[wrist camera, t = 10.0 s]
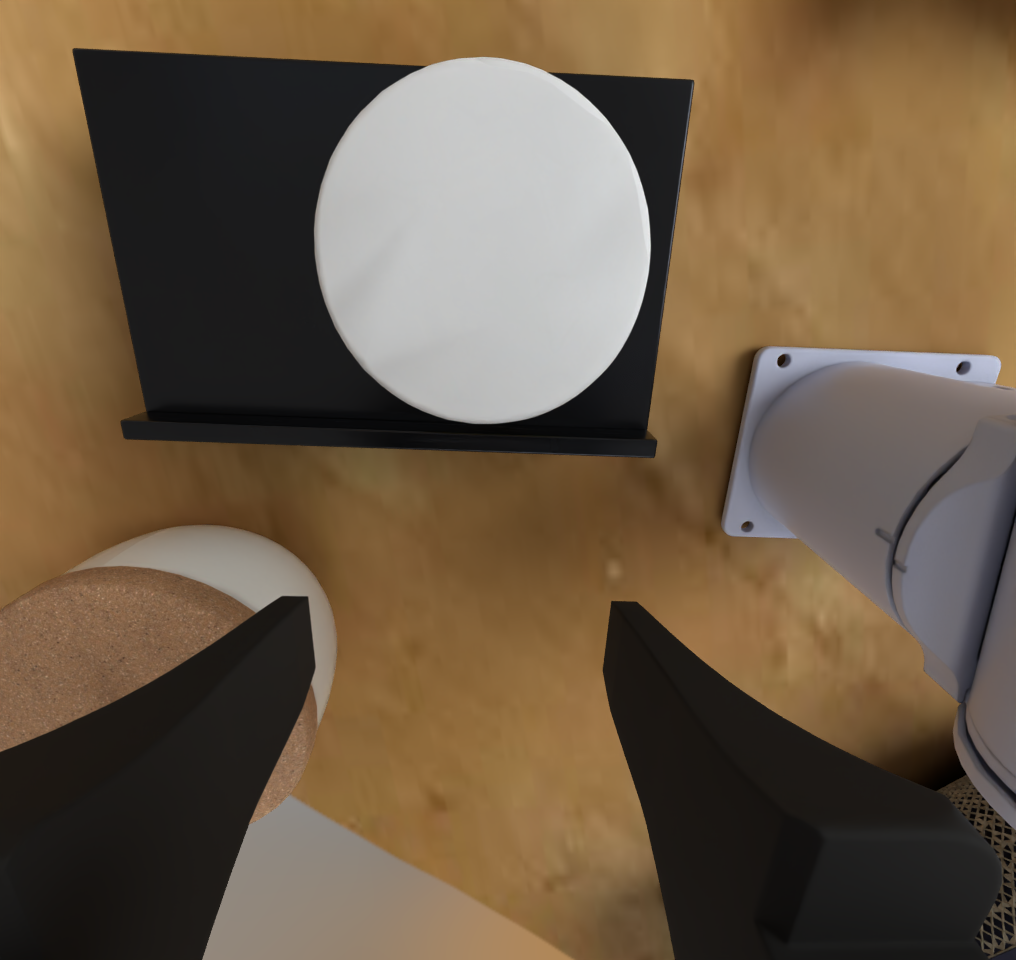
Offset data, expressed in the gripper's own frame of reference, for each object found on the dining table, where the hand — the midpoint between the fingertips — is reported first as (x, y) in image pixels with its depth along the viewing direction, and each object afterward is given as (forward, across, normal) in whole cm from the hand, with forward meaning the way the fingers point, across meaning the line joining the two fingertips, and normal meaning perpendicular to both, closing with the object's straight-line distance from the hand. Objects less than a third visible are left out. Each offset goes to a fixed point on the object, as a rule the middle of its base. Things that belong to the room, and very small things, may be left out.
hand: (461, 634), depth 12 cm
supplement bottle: (+6, -1, -8) cm, 10 cm away
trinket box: (+11, +10, +6) cm, 16 cm away
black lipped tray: (+10, +2, -8) cm, 13 cm away
